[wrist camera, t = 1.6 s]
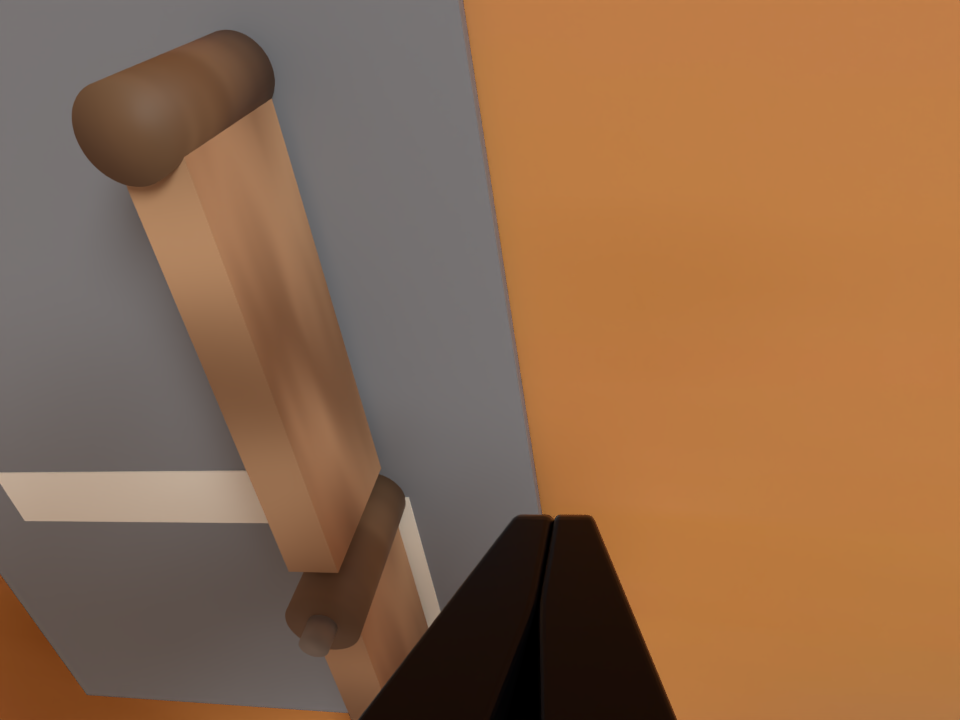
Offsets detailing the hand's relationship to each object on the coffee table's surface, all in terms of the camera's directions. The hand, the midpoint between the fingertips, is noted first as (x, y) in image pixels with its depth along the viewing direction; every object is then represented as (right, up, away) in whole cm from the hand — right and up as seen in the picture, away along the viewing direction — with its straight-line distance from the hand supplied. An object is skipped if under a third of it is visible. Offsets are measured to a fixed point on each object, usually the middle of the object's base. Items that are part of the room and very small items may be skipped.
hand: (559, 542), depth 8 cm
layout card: (-9, 0, +13) cm, 16 cm away
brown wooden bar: (-5, +4, +9) cm, 11 cm away
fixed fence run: (-3, -6, +15) cm, 17 cm away
